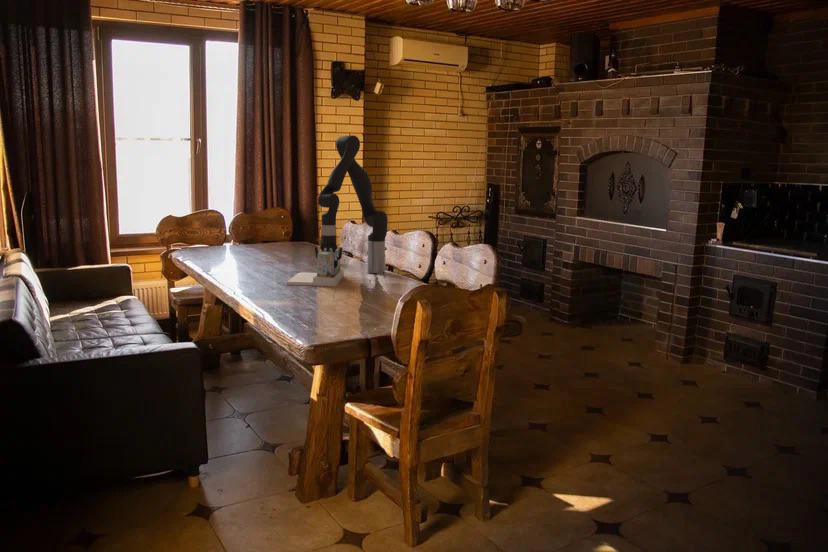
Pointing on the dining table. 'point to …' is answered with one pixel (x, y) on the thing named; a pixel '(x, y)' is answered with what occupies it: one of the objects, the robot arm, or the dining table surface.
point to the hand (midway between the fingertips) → (328, 267)
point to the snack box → (327, 264)
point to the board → (302, 279)
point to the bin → (328, 279)
